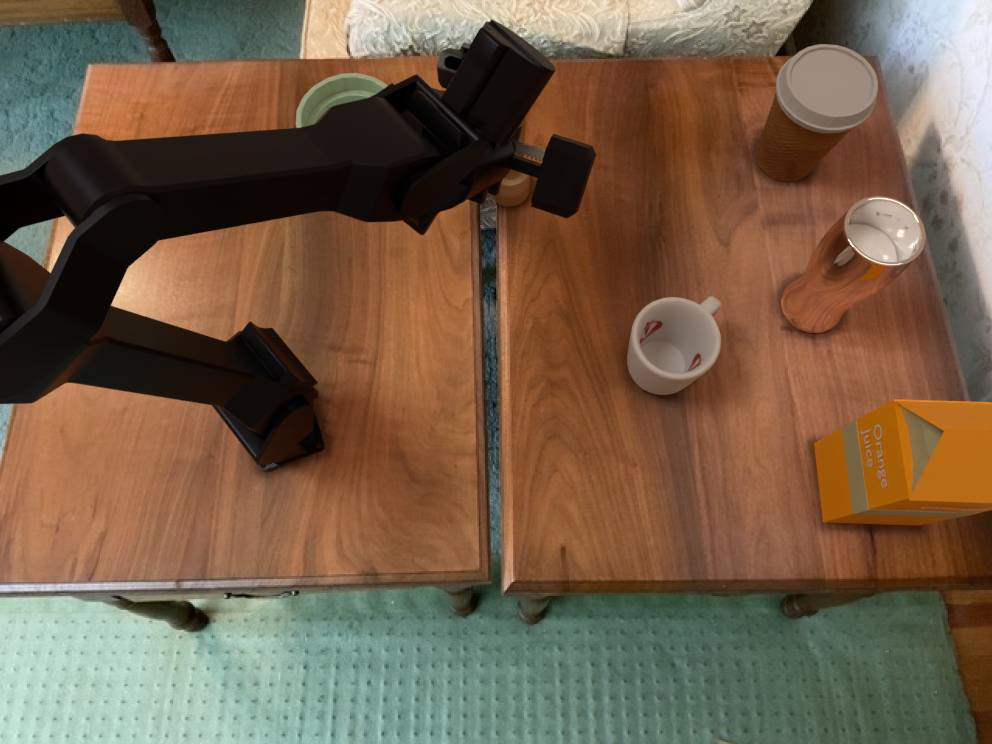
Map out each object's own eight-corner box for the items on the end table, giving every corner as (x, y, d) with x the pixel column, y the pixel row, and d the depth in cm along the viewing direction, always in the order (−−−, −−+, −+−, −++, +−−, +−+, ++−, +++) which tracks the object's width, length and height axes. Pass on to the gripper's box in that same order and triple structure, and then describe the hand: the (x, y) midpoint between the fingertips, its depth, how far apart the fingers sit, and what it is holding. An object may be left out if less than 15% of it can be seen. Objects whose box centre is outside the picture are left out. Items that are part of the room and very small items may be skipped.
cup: (672, 297, 72) (692, 260, 64) (733, 348, 70) (760, 316, 62) (601, 366, 70) (613, 336, 62) (662, 421, 68) (681, 397, 60)
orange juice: (813, 441, 67) (933, 374, 48) (906, 444, 66) (1064, 377, 48) (822, 524, 64) (954, 488, 45) (919, 527, 64) (1092, 492, 45)
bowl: (418, 166, 78) (413, 140, 73) (322, 196, 77) (311, 172, 72) (389, 90, 81) (382, 61, 77) (296, 118, 80) (284, 90, 76)
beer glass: (762, 308, 71) (825, 232, 57) (801, 263, 73) (872, 178, 59) (819, 351, 70) (898, 284, 56) (858, 304, 71) (945, 227, 57)
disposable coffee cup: (730, 178, 76) (769, 102, 65) (754, 112, 79) (795, 28, 68) (816, 206, 75) (870, 134, 64) (837, 138, 78) (893, 57, 67)
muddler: (535, 199, 76) (541, 112, 63) (497, 211, 76) (495, 126, 62) (520, 167, 77) (523, 75, 64) (483, 179, 77) (478, 89, 64)
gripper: (603, 91, 50) (627, 84, 64) (368, 18, 52) (440, 27, 66) (557, 237, 55) (589, 201, 69) (346, 164, 58) (417, 144, 71)
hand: (510, 142), depth 69 cm, fingers open, 9 cm apart
